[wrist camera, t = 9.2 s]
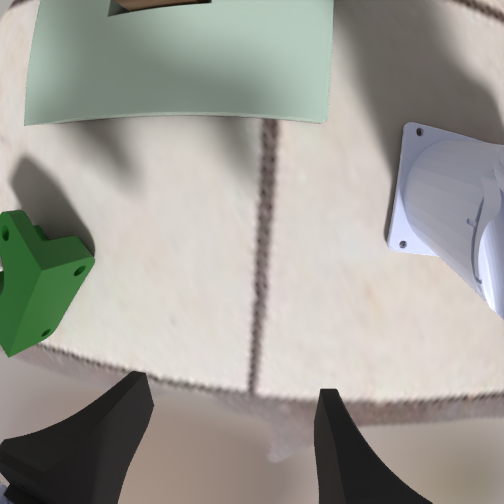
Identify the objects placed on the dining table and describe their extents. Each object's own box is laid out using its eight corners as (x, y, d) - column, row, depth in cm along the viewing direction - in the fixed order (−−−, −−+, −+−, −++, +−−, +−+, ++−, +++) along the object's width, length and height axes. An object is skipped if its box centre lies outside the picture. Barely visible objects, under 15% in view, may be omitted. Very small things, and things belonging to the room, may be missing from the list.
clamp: (79, 212, 26) (19, 183, 17) (117, 262, 25) (59, 250, 16) (7, 300, 25) (-58, 300, 16) (38, 349, 24) (-26, 366, 15)
